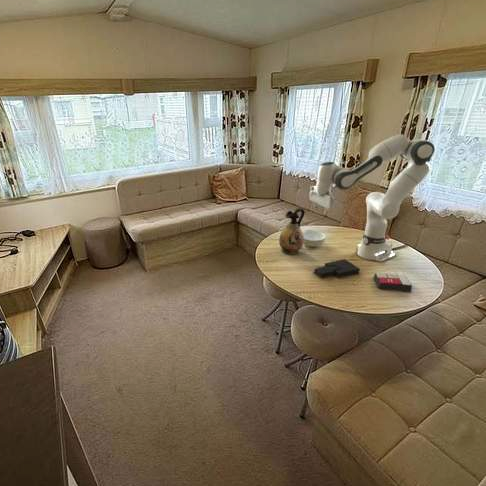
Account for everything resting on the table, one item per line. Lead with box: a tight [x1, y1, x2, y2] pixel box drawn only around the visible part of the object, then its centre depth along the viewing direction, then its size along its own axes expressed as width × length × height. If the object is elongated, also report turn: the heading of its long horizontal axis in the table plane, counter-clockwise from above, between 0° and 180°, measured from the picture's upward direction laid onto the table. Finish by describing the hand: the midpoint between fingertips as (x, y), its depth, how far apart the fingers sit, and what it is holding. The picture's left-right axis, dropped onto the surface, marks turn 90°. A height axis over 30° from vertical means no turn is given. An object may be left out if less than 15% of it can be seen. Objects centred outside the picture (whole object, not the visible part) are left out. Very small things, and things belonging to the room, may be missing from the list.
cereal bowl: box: [301, 229, 326, 248], centre depth 203 cm, size 17×17×7 cm
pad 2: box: [324, 258, 360, 279], centre depth 173 cm, size 14×12×3 cm
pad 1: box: [313, 265, 339, 279], centre depth 170 cm, size 13×6×3 cm, turn 108°
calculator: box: [373, 272, 413, 292], centre depth 159 cm, size 11×4×15 cm
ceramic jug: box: [278, 207, 305, 255], centre depth 190 cm, size 17×15×30 cm
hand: (320, 211), depth 185 cm, fingers open, 8 cm apart
